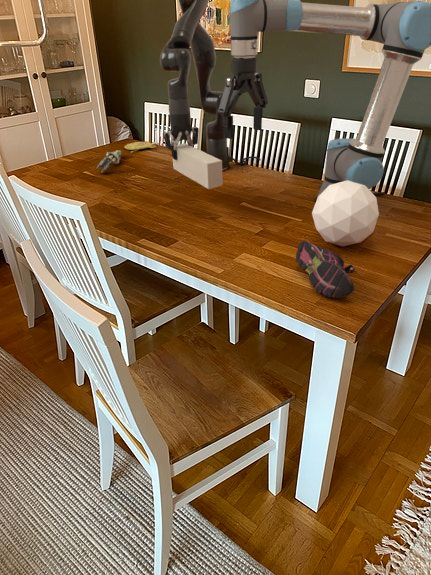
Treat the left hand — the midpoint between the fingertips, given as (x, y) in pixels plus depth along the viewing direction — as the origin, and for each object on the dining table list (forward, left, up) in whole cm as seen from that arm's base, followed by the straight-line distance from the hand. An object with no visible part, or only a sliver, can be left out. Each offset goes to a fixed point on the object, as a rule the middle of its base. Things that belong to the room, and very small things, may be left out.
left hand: (183, 157), depth 168 cm
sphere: (-22, +63, -16) cm, 69 cm away
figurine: (+9, -59, -16) cm, 62 cm away
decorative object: (-15, -79, -16) cm, 82 cm away
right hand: (-4, +34, +15) cm, 37 cm away
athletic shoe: (-2, +78, -16) cm, 80 cm away
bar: (0, +10, -5) cm, 11 cm away
